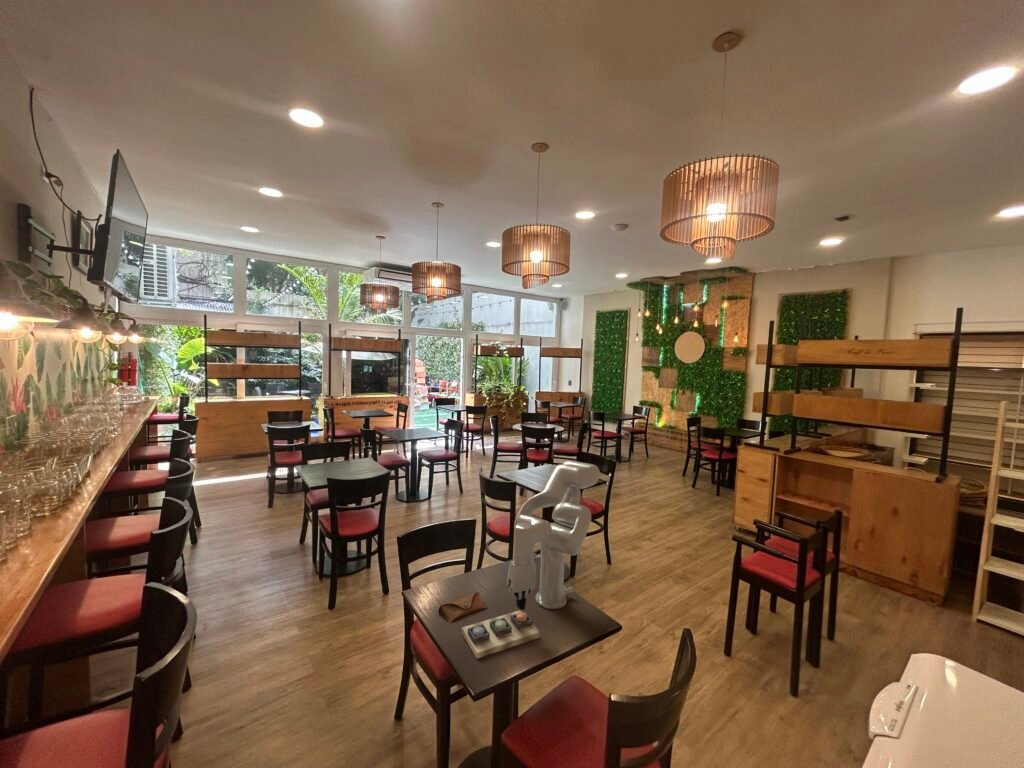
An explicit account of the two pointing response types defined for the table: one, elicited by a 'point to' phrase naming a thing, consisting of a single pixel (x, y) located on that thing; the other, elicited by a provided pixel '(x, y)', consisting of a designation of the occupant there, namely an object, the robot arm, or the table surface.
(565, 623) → the table surface
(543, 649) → the table surface
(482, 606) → the sunglasses case
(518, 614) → the terracotta button
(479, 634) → the slate button
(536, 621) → the table surface
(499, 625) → the sage button
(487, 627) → the button panel
